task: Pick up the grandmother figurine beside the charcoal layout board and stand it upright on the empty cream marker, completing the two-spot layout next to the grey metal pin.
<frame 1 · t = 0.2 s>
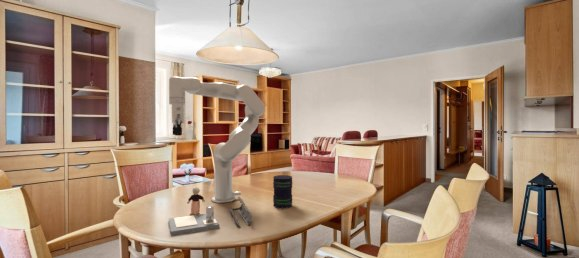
hand: (177, 135, 144), 36 cm above the table, fingers open, 9 cm apart
model building: (240, 218, 127), on the table
layout board: (193, 224, 117), on the table
grandmother figurine: (196, 214, 131), on the table
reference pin: (209, 221, 116), resting on layout board
storage jar: (282, 206, 145), on the table
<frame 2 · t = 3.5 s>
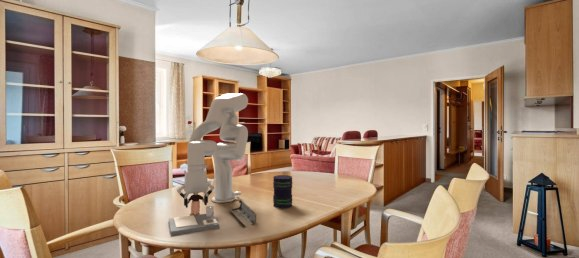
hand: (196, 205, 131), 4 cm above the table, fingers closed on grandmother figurine, 7 cm apart
grandmother figurine: (196, 214, 131), on the table, touching gripper
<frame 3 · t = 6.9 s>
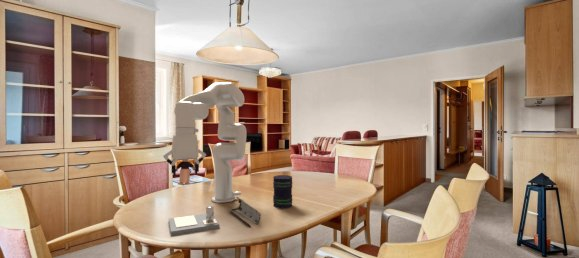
hand: (185, 174, 116), 21 cm above the table, fingers closed on grandmother figurine, 7 cm apart
grandmother figurine: (185, 184, 116), point 17 cm above the table, touching gripper
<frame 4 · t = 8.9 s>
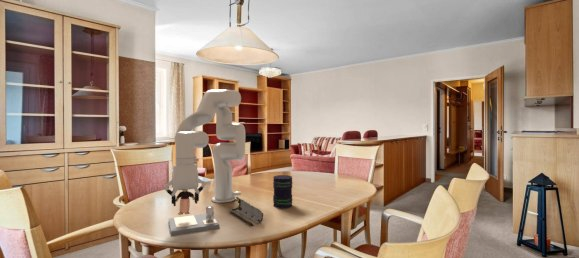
hand: (185, 203, 116), 9 cm above the table, fingers closed on grandmother figurine, 7 cm apart
grandmother figurine: (185, 213, 116), point 5 cm above the table, touching gripper
when the fingers open (7 cm above the table, at t = 10.4 s): grandmother figurine drops 1 cm, resting on layout board.
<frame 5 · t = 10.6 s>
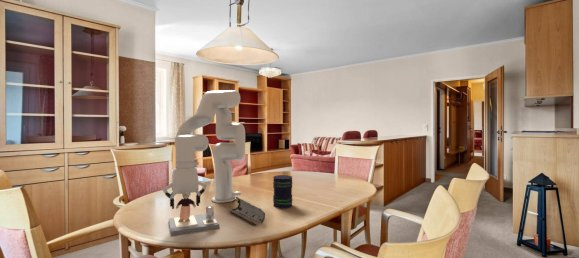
hand: (185, 206, 116), 8 cm above the table, fingers open, 9 cm apart
grandmother figurine: (185, 221, 117), point 2 cm above the table, touching layout board
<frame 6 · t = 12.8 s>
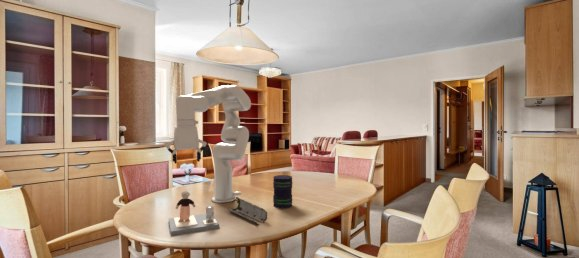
hand: (187, 162, 125), 25 cm above the table, fingers open, 9 cm apart
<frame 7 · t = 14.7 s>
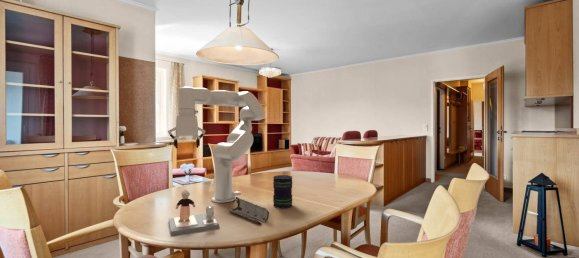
hand: (187, 147, 137), 30 cm above the table, fingers open, 9 cm apart
at the end: grandmother figurine 0.2 cm from the target spot, point 1.6 cm above the table; grandmother figurine tilted 0°; the gripper is holding nothing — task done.
